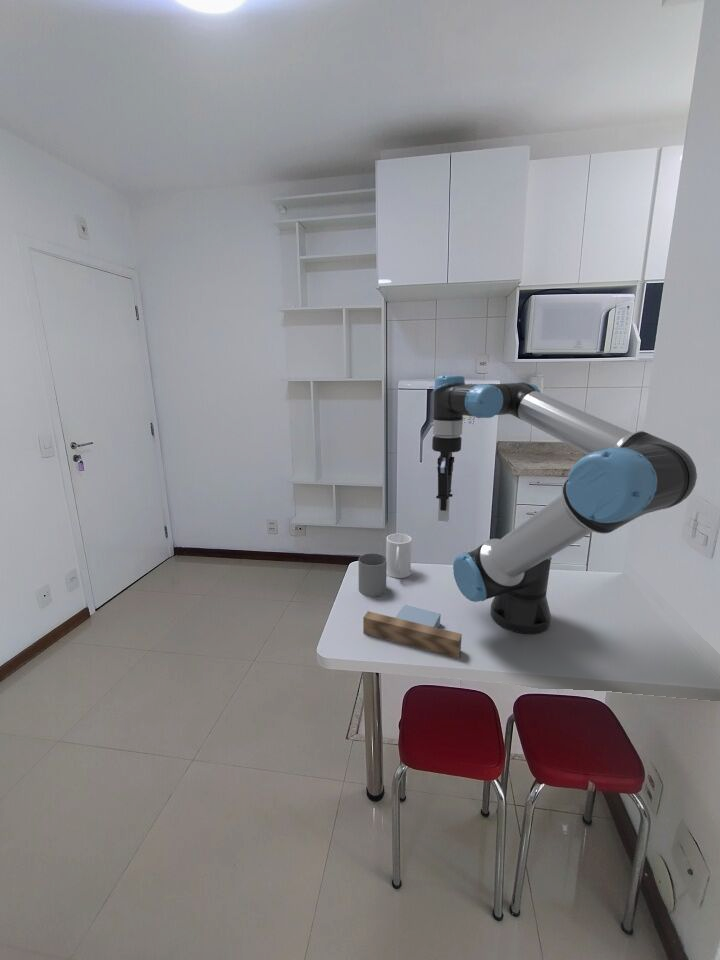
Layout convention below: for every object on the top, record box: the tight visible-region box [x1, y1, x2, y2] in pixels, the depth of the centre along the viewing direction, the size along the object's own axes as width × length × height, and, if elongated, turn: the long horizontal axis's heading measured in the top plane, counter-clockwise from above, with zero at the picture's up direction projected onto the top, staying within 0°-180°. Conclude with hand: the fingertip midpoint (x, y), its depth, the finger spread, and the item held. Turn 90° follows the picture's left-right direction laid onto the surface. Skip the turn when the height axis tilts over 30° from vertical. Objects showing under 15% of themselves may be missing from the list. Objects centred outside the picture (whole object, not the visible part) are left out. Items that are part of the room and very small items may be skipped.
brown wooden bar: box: [362, 610, 463, 659], centre depth 104 cm, size 24×3×4 cm, turn 67°
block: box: [394, 604, 441, 628], centre depth 110 cm, size 10×8×4 cm
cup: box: [358, 552, 387, 597], centre depth 128 cm, size 8×8×10 cm
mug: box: [385, 533, 413, 579], centre depth 136 cm, size 12×8×12 cm
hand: (443, 520), depth 118 cm, fingers closed
